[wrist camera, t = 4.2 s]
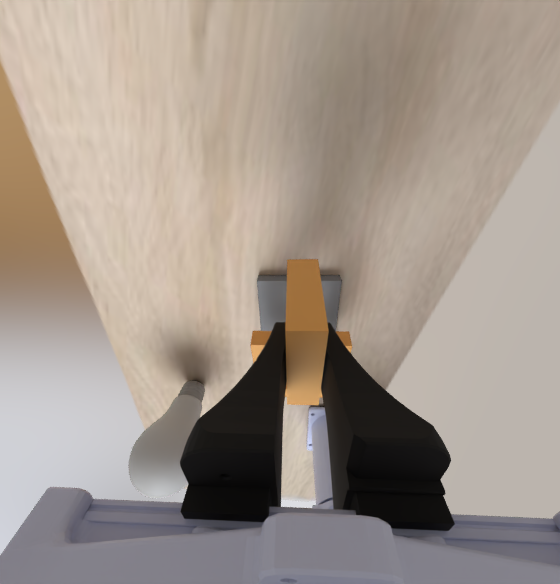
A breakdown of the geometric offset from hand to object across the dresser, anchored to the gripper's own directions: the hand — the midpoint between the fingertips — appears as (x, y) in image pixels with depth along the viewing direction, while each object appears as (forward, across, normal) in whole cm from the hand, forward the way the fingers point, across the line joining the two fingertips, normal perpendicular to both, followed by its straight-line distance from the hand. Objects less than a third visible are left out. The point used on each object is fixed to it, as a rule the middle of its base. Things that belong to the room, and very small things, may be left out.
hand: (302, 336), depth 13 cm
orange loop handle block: (+3, 0, +2) cm, 4 cm away
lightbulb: (+9, +12, +15) cm, 21 cm away
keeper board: (+9, 0, +8) cm, 12 cm away
